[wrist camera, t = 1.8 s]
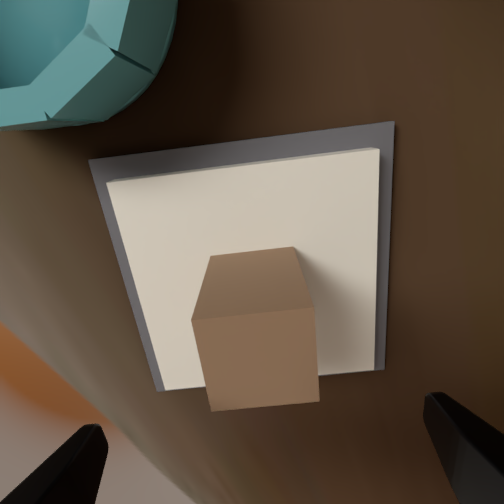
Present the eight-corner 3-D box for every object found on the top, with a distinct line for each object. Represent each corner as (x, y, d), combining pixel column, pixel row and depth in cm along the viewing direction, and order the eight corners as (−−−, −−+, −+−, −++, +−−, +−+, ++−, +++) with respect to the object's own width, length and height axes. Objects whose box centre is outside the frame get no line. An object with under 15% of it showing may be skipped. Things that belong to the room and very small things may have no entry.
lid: (371, 147, 15) (456, 163, 9) (368, 357, 19) (422, 466, 13) (114, 179, 15) (25, 216, 9) (169, 377, 20) (133, 490, 14)
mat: (391, 121, 15) (394, 120, 14) (381, 364, 20) (384, 369, 19) (91, 159, 15) (87, 160, 15) (158, 386, 20) (157, 391, 20)
